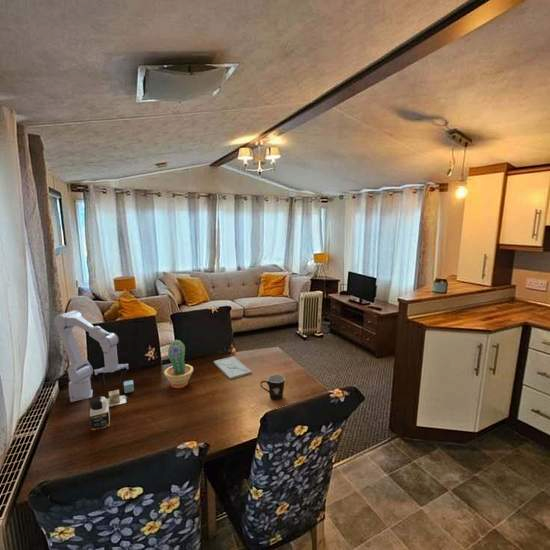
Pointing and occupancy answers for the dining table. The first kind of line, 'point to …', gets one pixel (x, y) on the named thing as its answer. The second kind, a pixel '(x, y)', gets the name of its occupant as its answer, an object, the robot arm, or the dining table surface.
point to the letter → (122, 400)
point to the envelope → (232, 367)
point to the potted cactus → (178, 365)
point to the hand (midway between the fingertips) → (113, 384)
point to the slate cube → (128, 386)
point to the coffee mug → (275, 386)
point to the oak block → (114, 397)
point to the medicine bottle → (99, 413)
